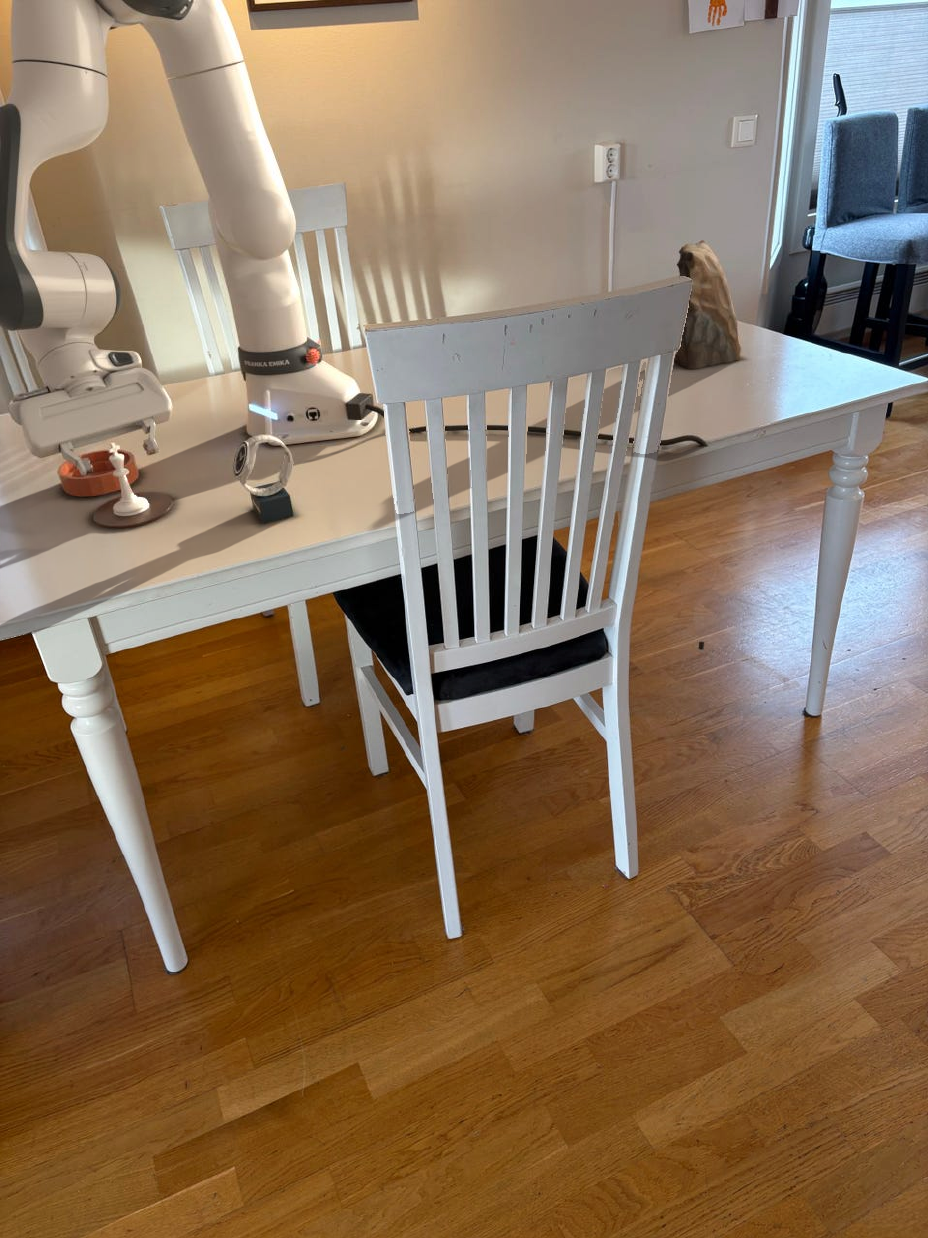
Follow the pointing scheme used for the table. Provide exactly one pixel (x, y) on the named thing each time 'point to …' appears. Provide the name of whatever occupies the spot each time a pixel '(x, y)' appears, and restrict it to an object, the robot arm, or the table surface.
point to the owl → (707, 311)
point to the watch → (270, 497)
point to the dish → (96, 474)
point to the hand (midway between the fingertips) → (121, 462)
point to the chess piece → (125, 488)
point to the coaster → (156, 510)
